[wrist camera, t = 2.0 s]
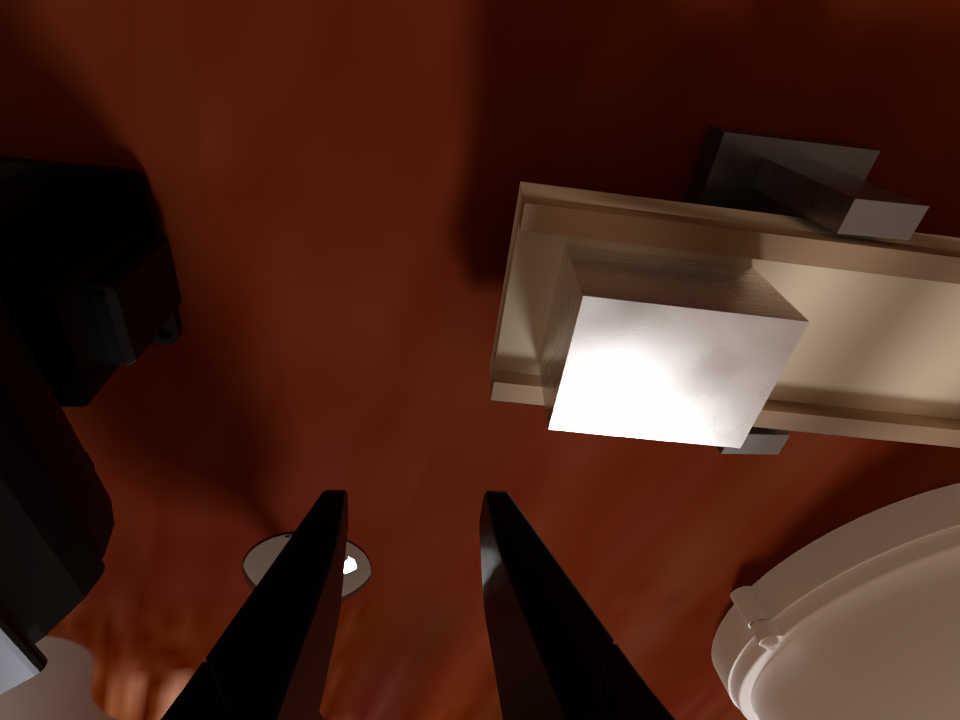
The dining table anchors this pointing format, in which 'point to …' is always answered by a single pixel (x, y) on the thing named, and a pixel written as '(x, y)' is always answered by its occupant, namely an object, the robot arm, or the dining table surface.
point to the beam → (796, 276)
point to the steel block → (662, 347)
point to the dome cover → (854, 622)
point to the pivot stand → (798, 199)
